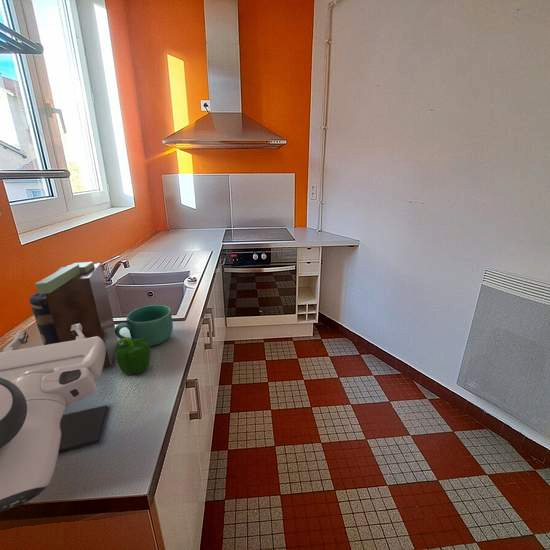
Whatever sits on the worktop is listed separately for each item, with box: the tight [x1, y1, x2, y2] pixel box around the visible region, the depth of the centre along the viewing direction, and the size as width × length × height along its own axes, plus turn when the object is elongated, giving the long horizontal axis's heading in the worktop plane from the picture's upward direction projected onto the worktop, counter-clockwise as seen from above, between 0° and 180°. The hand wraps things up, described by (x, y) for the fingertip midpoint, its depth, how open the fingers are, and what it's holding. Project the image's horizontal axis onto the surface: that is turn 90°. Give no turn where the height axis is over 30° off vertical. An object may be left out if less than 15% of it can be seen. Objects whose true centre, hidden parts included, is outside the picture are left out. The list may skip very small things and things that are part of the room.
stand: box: [45, 262, 119, 369], centre depth 84 cm, size 10×14×26 cm
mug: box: [115, 304, 174, 347], centre depth 93 cm, size 17×12×10 cm
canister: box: [29, 292, 60, 345], centre depth 93 cm, size 10×10×18 cm
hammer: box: [34, 261, 95, 294], centre depth 74 cm, size 19×5×2 cm, turn 7°
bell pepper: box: [114, 337, 151, 375], centre depth 80 cm, size 8×8×10 cm
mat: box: [58, 404, 108, 453], centre depth 62 cm, size 10×10×1 cm
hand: (50, 329), depth 61 cm, fingers open, 8 cm apart
